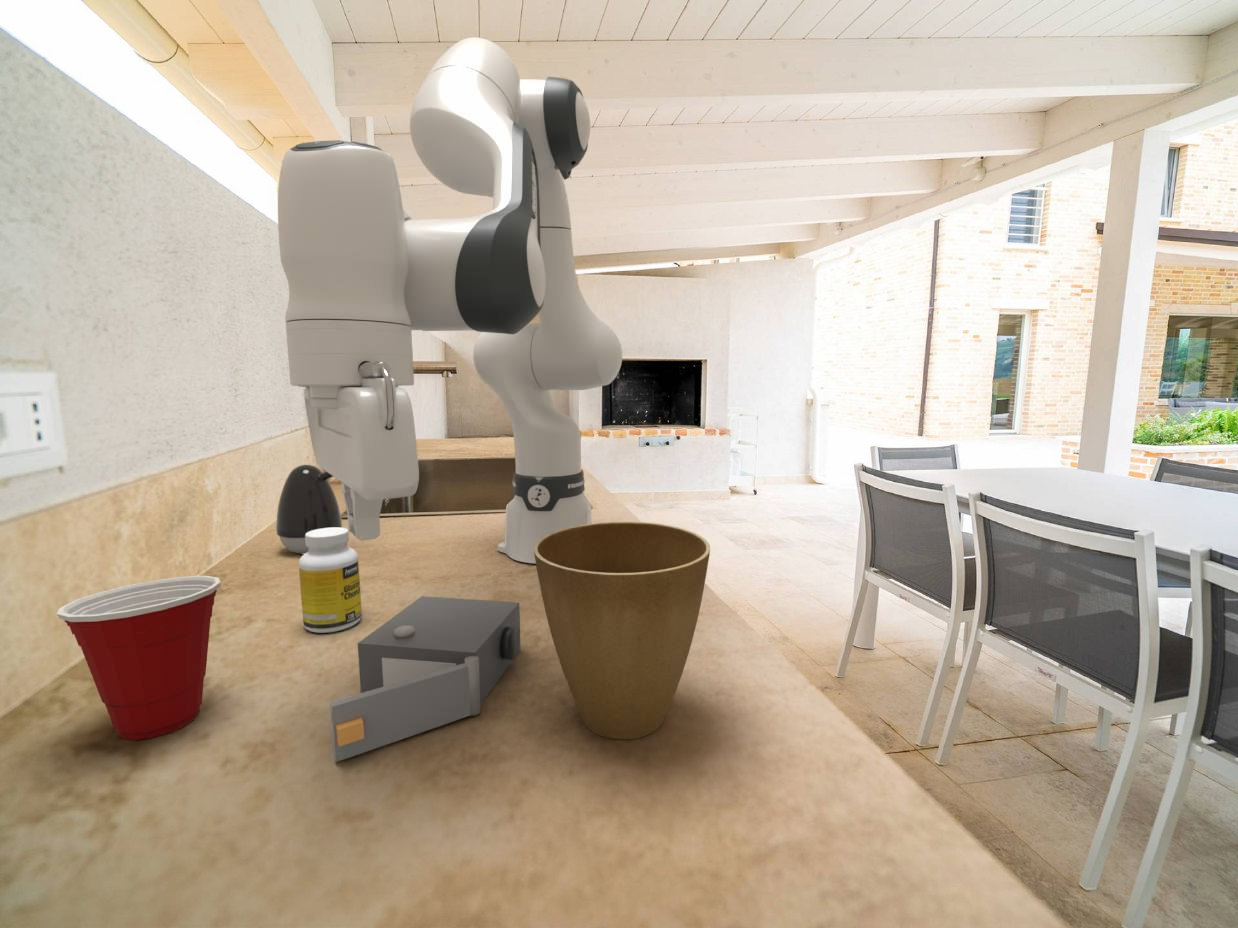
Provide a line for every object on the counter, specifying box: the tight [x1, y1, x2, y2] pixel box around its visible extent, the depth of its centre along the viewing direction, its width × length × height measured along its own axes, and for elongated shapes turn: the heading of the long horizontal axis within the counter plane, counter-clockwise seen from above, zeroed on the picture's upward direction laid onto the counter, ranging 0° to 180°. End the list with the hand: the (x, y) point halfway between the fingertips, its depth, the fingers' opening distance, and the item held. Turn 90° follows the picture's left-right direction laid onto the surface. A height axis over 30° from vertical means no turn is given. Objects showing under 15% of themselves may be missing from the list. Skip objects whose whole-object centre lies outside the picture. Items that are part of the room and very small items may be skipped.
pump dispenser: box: [275, 464, 343, 554], centre depth 101 cm, size 10×10×15 cm
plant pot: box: [534, 521, 711, 740], centre depth 50 cm, size 15×15×16 cm
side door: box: [329, 656, 481, 763], centre depth 48 cm, size 2×12×5 cm, turn 126°
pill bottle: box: [298, 527, 363, 634], centre depth 70 cm, size 6×6×12 cm
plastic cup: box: [56, 575, 221, 741], centre depth 50 cm, size 11×11×12 cm
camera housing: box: [357, 595, 522, 706], centre depth 59 cm, size 12×12×6 cm
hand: (364, 536), depth 47 cm, fingers closed
